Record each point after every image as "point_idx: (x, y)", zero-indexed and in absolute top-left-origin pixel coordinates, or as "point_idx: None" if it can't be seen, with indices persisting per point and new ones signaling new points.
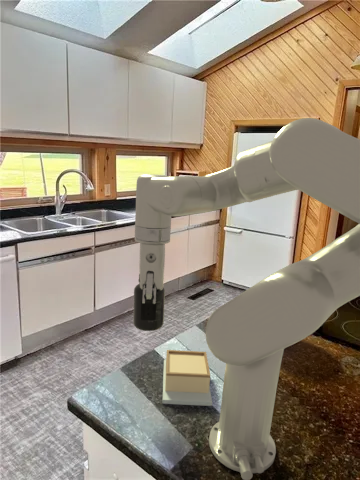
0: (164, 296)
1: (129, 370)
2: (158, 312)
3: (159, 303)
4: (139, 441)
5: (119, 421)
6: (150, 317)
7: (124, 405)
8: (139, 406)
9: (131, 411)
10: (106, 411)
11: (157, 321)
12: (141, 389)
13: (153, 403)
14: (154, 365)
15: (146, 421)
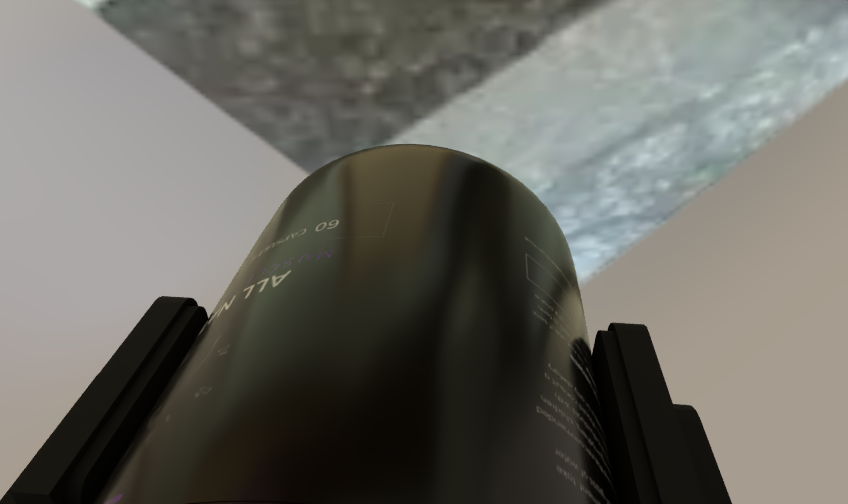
0: (410, 445)
1: (313, 151)
2: (569, 338)
3: (578, 449)
4: (811, 82)
5: (670, 170)
6: (689, 413)
7: (572, 157)
8: (585, 91)
9: (615, 125)
10: (602, 222)
11: (563, 264)
12: (459, 87)
13: (569, 22)
14: (241, 20)
15: (693, 54)
